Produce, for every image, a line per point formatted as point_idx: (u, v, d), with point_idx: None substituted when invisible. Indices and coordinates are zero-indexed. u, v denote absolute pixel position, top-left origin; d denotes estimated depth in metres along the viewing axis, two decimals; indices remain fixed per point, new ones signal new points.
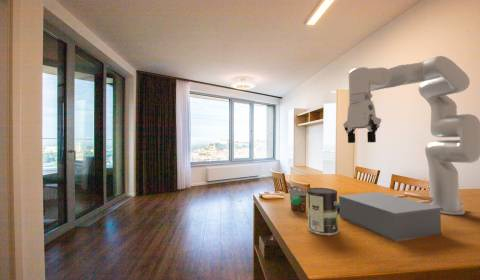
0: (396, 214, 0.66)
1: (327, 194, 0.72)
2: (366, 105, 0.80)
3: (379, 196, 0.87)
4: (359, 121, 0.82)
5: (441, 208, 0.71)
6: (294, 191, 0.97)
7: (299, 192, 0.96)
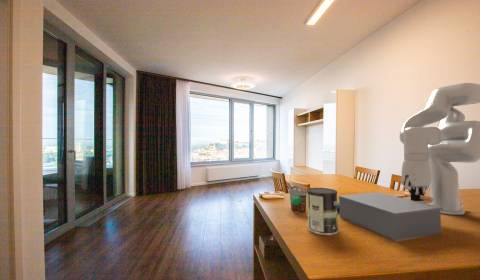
0: (396, 214, 0.66)
1: (327, 194, 0.72)
2: None
3: (379, 196, 0.87)
4: (426, 180, 0.83)
5: (441, 208, 0.71)
6: (294, 191, 0.97)
7: (299, 192, 0.96)
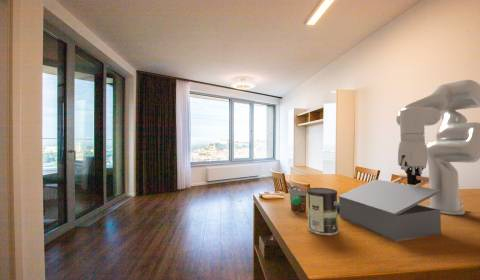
0: (396, 214, 0.66)
1: (327, 194, 0.72)
2: None
3: (377, 186, 0.87)
4: (422, 160, 0.83)
5: (438, 191, 0.71)
6: (294, 191, 0.97)
7: (299, 192, 0.96)
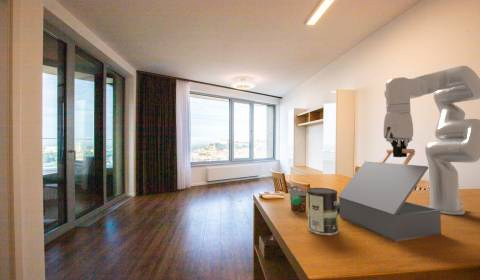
0: (395, 213, 0.66)
1: (327, 194, 0.72)
2: None
3: (369, 173, 0.86)
4: (408, 132, 0.82)
5: (426, 167, 0.70)
6: (294, 191, 0.97)
7: (299, 192, 0.96)
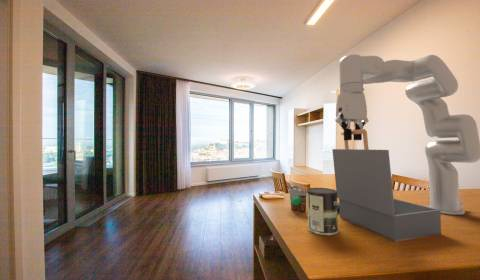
0: (394, 214, 0.66)
1: (327, 194, 0.72)
2: None
3: (344, 164, 0.83)
4: (360, 113, 0.76)
5: (387, 151, 0.66)
6: (294, 191, 0.97)
7: (299, 192, 0.96)
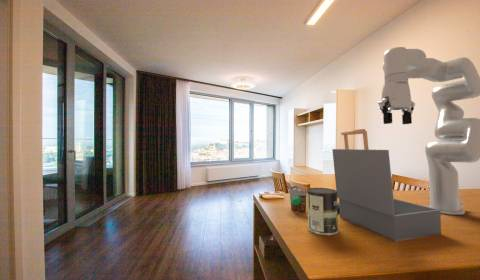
0: (394, 214, 0.66)
1: (327, 194, 0.72)
2: None
3: (344, 164, 0.83)
4: (406, 102, 0.82)
5: (387, 151, 0.66)
6: (294, 191, 0.97)
7: (299, 192, 0.96)
